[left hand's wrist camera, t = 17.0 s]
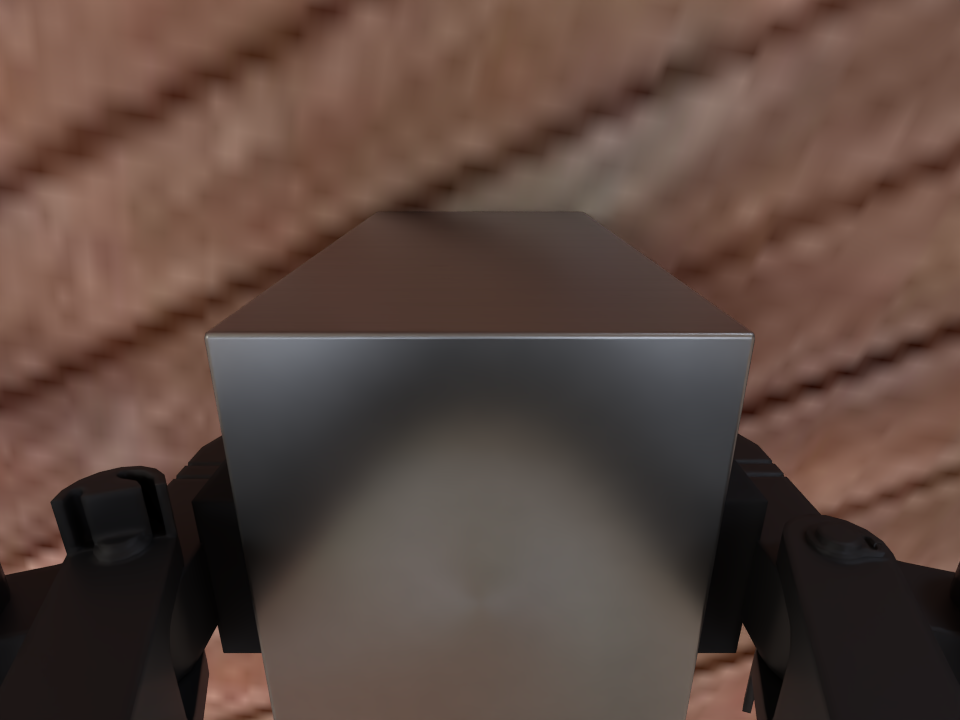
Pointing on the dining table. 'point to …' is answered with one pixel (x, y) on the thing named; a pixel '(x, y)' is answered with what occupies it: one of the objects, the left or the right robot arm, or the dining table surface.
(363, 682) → the block
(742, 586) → the left robot arm
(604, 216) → the dining table surface
